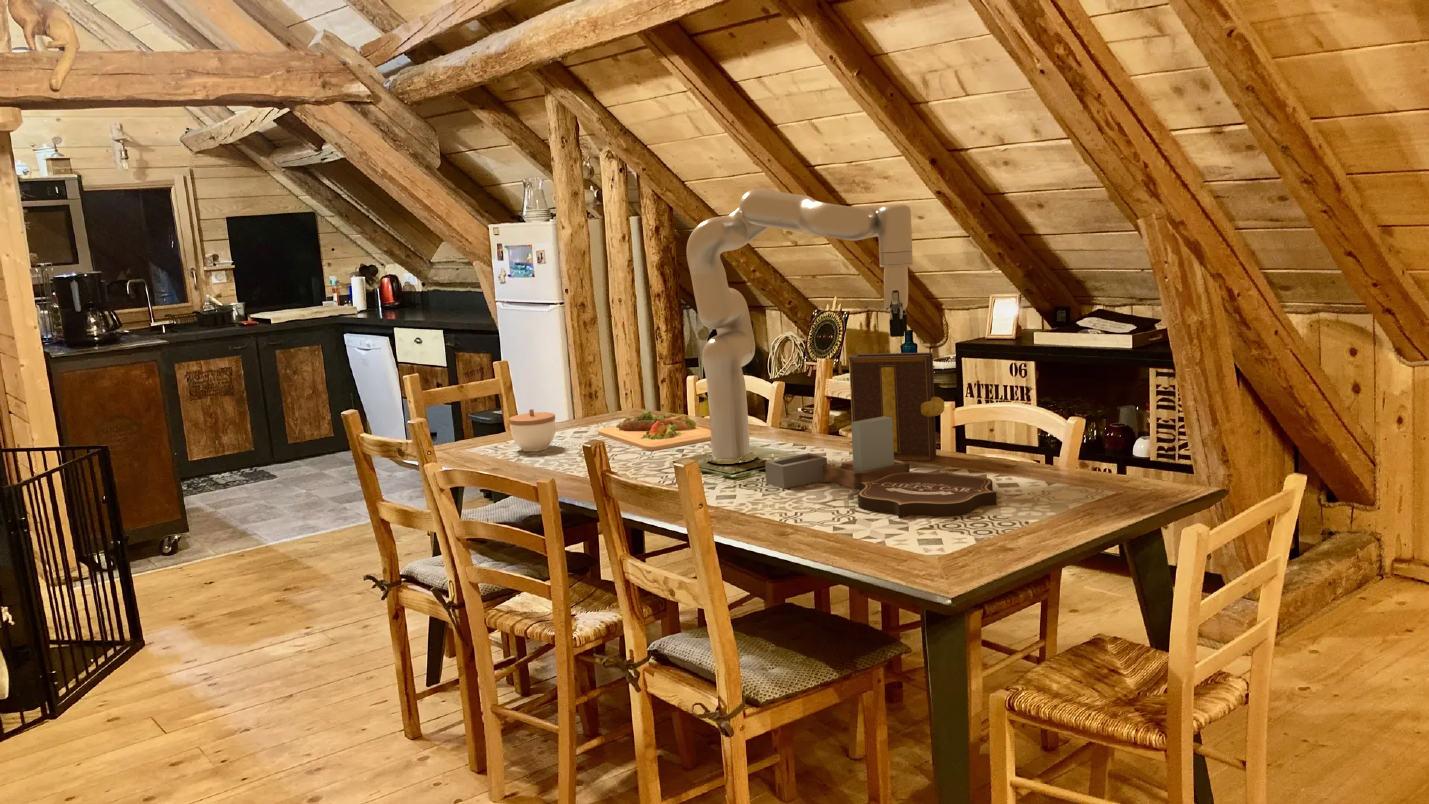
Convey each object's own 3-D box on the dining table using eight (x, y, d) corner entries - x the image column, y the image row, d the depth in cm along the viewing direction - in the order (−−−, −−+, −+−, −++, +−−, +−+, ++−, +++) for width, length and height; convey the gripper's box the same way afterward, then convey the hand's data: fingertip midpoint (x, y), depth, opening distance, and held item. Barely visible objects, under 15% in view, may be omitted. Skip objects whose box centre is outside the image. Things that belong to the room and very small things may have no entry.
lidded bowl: (567, 445, 323) (563, 406, 321) (536, 455, 313) (532, 414, 311) (533, 442, 330) (529, 404, 328) (502, 452, 320) (498, 412, 318)
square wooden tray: (823, 480, 263) (822, 465, 262) (874, 469, 270) (873, 454, 269) (858, 490, 252) (857, 474, 251) (909, 478, 259) (909, 463, 258)
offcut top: (842, 472, 262) (841, 462, 262) (866, 466, 266) (866, 456, 266) (855, 475, 258) (855, 465, 258) (880, 469, 262) (879, 459, 262)
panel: (854, 484, 258) (851, 422, 255) (886, 477, 262) (883, 416, 260) (862, 486, 255) (859, 423, 253) (894, 479, 259) (892, 417, 257)
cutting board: (725, 439, 319) (724, 412, 318) (650, 453, 307) (648, 425, 306) (666, 423, 349) (664, 398, 348) (595, 435, 337) (592, 410, 336)
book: (851, 461, 280) (846, 358, 275) (858, 453, 288) (853, 353, 283) (943, 462, 272) (939, 356, 268) (948, 454, 280) (944, 351, 276)
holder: (766, 483, 264) (765, 461, 263) (809, 474, 270) (808, 453, 269) (784, 488, 258) (782, 466, 257) (828, 479, 263) (826, 457, 263)
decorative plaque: (828, 500, 235) (885, 466, 261) (829, 514, 236) (885, 479, 261) (972, 511, 220) (1017, 474, 245) (973, 526, 220) (1018, 488, 246)
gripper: (882, 258, 275) (885, 330, 278) (876, 263, 258) (879, 339, 261) (914, 256, 273) (917, 329, 276) (910, 261, 257) (912, 338, 260)
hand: (898, 334), depth 269 cm, fingers open, 9 cm apart
